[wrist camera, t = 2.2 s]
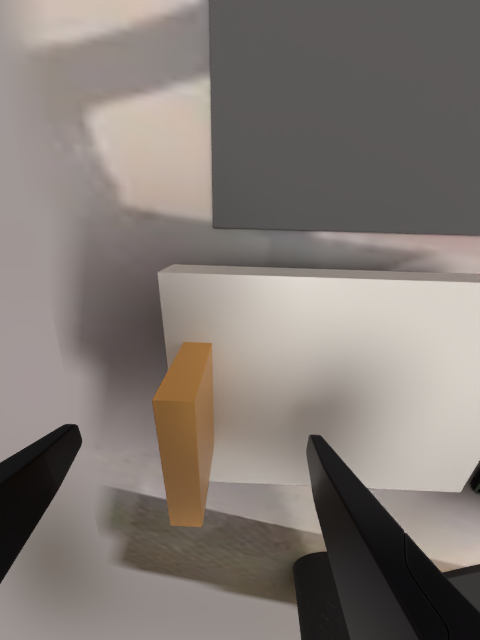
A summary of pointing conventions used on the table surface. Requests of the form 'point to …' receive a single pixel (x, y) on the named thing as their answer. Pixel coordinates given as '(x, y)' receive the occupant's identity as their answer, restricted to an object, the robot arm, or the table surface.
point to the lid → (316, 378)
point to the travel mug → (318, 600)
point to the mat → (346, 115)
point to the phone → (467, 582)
